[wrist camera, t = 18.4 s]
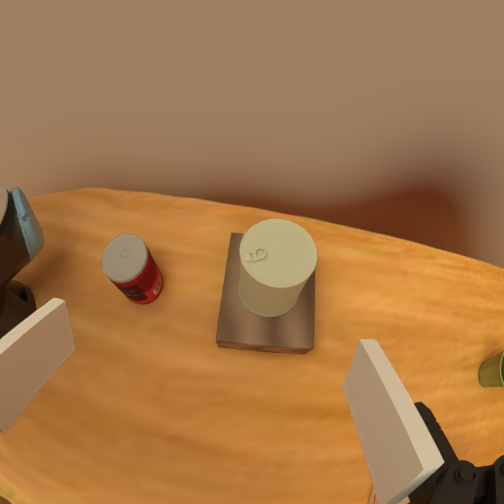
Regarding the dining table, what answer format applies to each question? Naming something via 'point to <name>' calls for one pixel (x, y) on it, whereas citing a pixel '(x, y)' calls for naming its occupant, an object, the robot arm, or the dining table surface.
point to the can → (275, 266)
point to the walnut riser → (259, 327)
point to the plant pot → (492, 372)
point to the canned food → (132, 268)
